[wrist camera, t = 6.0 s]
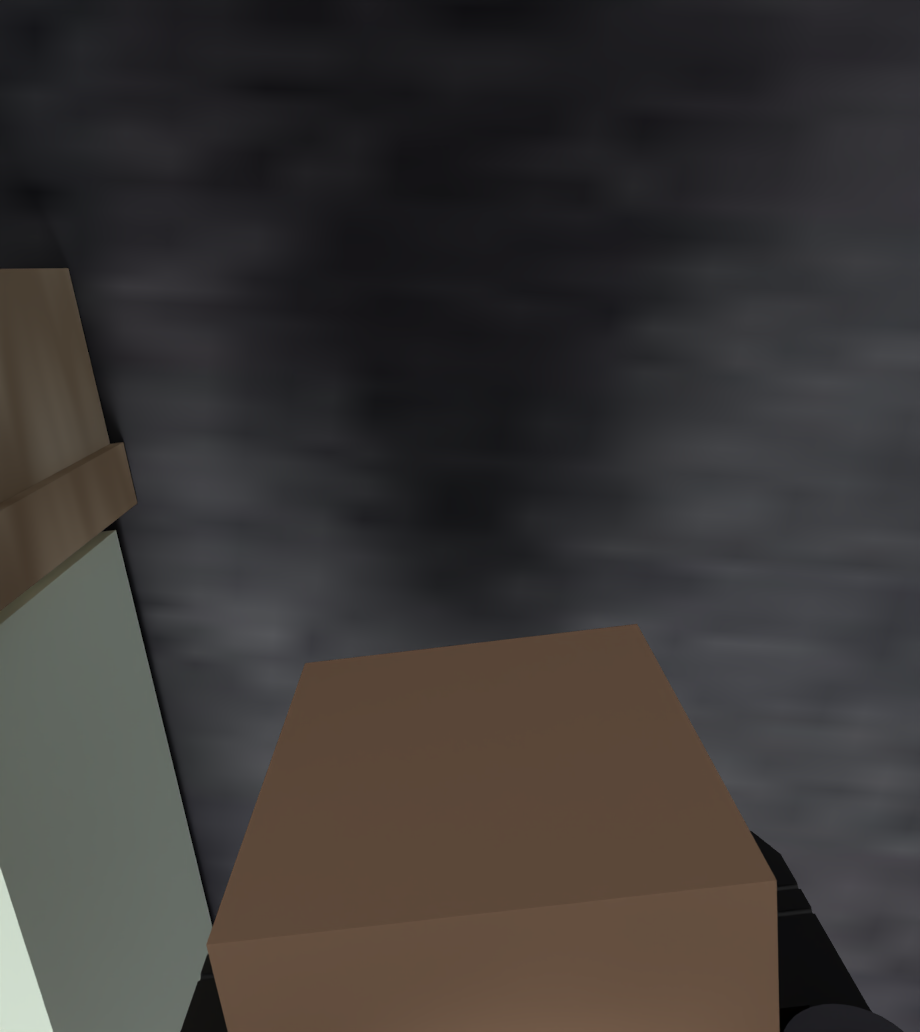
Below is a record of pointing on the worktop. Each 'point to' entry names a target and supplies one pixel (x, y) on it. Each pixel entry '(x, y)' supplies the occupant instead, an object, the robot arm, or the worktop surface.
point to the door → (90, 816)
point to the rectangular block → (496, 854)
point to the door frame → (50, 433)
